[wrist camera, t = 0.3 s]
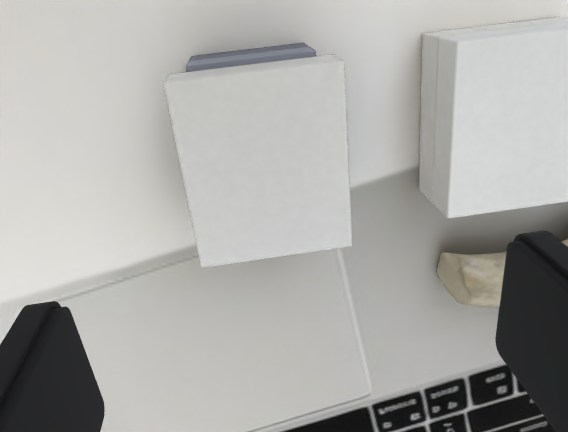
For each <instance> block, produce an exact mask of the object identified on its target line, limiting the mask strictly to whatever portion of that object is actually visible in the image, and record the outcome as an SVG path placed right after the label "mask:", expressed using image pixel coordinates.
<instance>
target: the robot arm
mask: <svg viewBox="0 0 568 432" xmlns="http://www.w3.org/2000/svg"><path fill="white" fill-rule="evenodd" d="M496 347H497V350H498V352H499V354H500V356H501V357H502V359H503V360H504V362H505V363H506V364H507V366H508V367H509V368H510V370H511V371H512V372H513V374H514V375H515V377H516V378H517V379H518V381H519V382H520V383H521V385H522V386H523V387H524V389H525V390H526V392H527V393H528V394H529V396H530V397H531V398H532V400H533V401H534V402H535V404H536V405H537V407H538V408H539V409H540V411H541V412H542V413H543V415H544V416H545V417H546V419H547V420H548V422H549V423H550V424H551V426H552V427H553V428H554V430H555V431H556V432H568V246H566V245H565V244H564V243H562V242H561V241H560V240H559V239H557V238H556V237H555V236H553V235H552V234H551V233H549V232H547V231H538V232H531V233H524V234H519V235H517V236H516V237H515V239H514V242H511V243H509V244H508V246H507V251H506V259H505V267H504V275H503V283H502V291H501V299H500V307H499V315H498V323H497V331H496ZM103 419H104V402H103V398H102V396H101V393H100V390H99V387H98V385H97V382H96V379H95V377H94V374H93V371H92V368H91V366H90V363H89V360H88V358H87V355H86V352H85V349H84V347H83V344H82V341H81V339H80V336H79V333H78V330H77V328H76V325H75V322H74V320H73V317H72V314H71V312H70V310H69V308H68V307H61V306H60V304H59V303H58V302H55V301H53V302H46V303H39V304H32V305H27V306H25V307H24V308H23V309H22V310H21V312H20V314H19V315H18V317H17V319H16V320H15V322H14V323H13V325H12V327H11V328H10V330H9V332H8V333H7V335H6V336H5V338H4V340H3V341H2V343H1V345H0V432H100V430H101V426H102V423H103Z"/></svg>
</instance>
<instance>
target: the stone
mask: <svg viewBox="0 0 568 432" xmlns="http://www.w3.org/2000/svg"><path fill="white" fill-rule="evenodd" d="M561 242H562V243H564V244H565V245H566V246H568V239H566V240H564V241H561ZM505 259H506V252H500V253H489V254H473V255H467V254H457V253H449V252H442V253H441V255H440V261H439V262H438V268H437V270H436V272H437V274H438V276H439V279H440V280H441V281H442V282H443V284H444V286H445V288H446V289H447V291H448V292H449V293H450V294H451V295H452V296H453V297H454V298H455V299H456V300H457V302H459V303H462V304H466V305H473V306H484V307H500V299H501V291H502V283H503V275H504V267H505Z"/></svg>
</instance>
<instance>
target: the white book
mask: <svg viewBox="0 0 568 432" xmlns="http://www.w3.org/2000/svg"><path fill="white" fill-rule="evenodd" d="M163 85H164V90H165V95H166V100H167V105H168V110H169V115H170V119H171V124H172V129H173V134H174V139H175V144H176V148H177V153H178V158H179V163H180V168H181V173H182V177H183V182H184V187H185V192H186V197H187V202H188V206H189V211H190V216H191V221H192V226H193V231H194V236H195V240H196V245H197V250H198V255H199V260H200V265H201V267H202V268H205V267H212V266H219V265H226V264H232V263H239V262H246V261H253V260H260V259H267V258H274V257H281V256H288V255H295V254H302V253H309V252H316V251H323V250H330V249H337V248H344V247H351V246H352V226H351V204H350V181H349V159H348V136H347V114H346V91H345V69H344V61H343V60H342V59H340V58H338V57H337V56H335V55H333V54H332V55H323V56H315V57H307V58H299V59H290V60H282V61H274V62H266V63H257V64H249V65H241V66H233V67H224V68H216V69H208V70H200V71H191V72H183V73H175V74H169V75H168V77H167V78H166V80H165V81H164V83H163Z"/></svg>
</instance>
